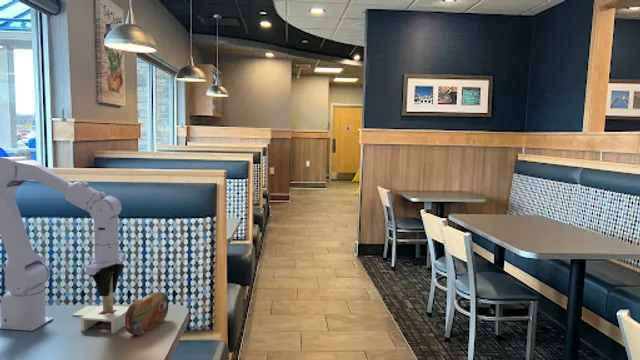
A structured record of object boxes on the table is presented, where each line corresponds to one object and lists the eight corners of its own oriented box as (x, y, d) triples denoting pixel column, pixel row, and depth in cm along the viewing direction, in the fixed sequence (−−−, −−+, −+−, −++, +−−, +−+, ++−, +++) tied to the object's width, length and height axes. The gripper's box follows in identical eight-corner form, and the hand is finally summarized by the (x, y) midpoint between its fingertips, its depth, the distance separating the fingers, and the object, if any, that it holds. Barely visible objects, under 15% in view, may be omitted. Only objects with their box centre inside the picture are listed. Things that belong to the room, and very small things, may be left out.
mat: (71, 316, 123) (71, 314, 123) (87, 306, 130) (87, 305, 130) (95, 317, 123) (95, 316, 123) (110, 308, 130) (110, 307, 130)
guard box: (81, 330, 114) (80, 317, 114) (101, 317, 123) (101, 304, 123) (114, 333, 113) (114, 319, 113) (132, 319, 122) (132, 307, 122)
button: (100, 322, 117) (100, 316, 117) (106, 318, 119) (105, 312, 119) (109, 322, 116) (109, 317, 116) (115, 319, 119) (115, 313, 119)
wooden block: (101, 311, 117) (100, 274, 116) (106, 308, 119) (105, 271, 118) (109, 312, 116) (109, 274, 116) (114, 308, 119) (114, 272, 118)
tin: (133, 341, 109) (133, 307, 108) (122, 339, 110) (122, 306, 109) (169, 318, 124) (169, 288, 123) (159, 316, 124) (159, 287, 124)
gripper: (104, 250, 109) (105, 304, 110) (135, 238, 123) (136, 286, 124) (77, 248, 109) (78, 302, 110) (111, 236, 124) (112, 284, 125)
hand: (107, 293), depth 117 cm, fingers closed on wooden block, 2 cm apart
